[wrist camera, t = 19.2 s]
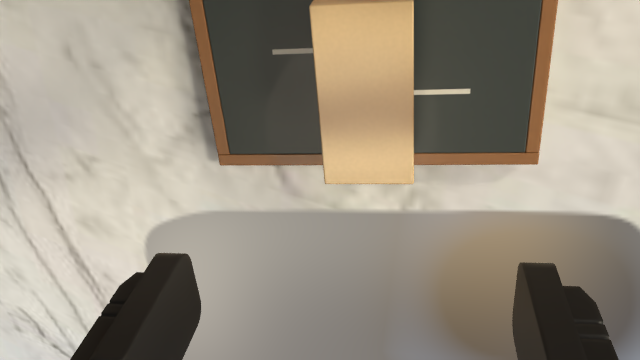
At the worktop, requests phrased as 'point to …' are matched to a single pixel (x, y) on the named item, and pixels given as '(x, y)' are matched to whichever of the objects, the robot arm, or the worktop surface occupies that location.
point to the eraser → (365, 89)
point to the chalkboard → (429, 80)
